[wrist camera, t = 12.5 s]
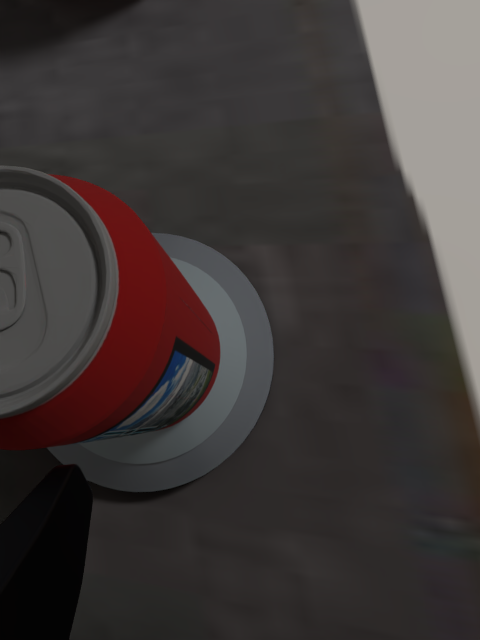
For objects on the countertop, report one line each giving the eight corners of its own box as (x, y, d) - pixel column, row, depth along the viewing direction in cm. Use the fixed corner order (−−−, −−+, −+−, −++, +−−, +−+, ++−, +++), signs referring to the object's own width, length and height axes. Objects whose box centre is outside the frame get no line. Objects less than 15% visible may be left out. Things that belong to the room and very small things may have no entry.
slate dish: (290, 474, 21) (290, 478, 19) (33, 500, 21) (18, 505, 20) (257, 225, 23) (256, 215, 22) (29, 257, 24) (15, 249, 23)
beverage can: (83, 441, 20) (-182, 480, 9) (75, 296, 22) (-165, 163, 10) (233, 421, 20) (162, 433, 8) (214, 274, 21) (131, 109, 10)
